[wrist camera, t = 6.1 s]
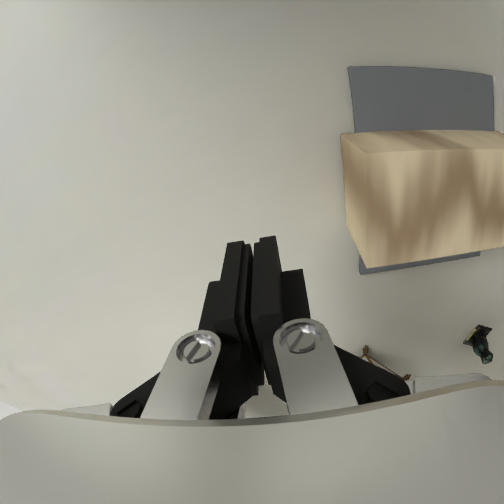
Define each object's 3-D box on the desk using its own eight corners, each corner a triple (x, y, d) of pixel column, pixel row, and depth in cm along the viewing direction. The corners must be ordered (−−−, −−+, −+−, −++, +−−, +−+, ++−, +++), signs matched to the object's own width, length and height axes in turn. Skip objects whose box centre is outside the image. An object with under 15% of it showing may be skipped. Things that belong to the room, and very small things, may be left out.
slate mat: (347, 67, 16) (349, 66, 15) (489, 75, 14) (492, 75, 14) (359, 271, 22) (360, 274, 22) (477, 253, 21) (479, 255, 21)
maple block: (365, 153, 13) (543, 151, 12) (340, 134, 17) (497, 131, 16) (366, 268, 16) (529, 241, 15) (346, 225, 20) (491, 209, 19)
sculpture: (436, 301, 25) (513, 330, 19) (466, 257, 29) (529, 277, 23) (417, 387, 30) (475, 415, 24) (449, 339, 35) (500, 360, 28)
